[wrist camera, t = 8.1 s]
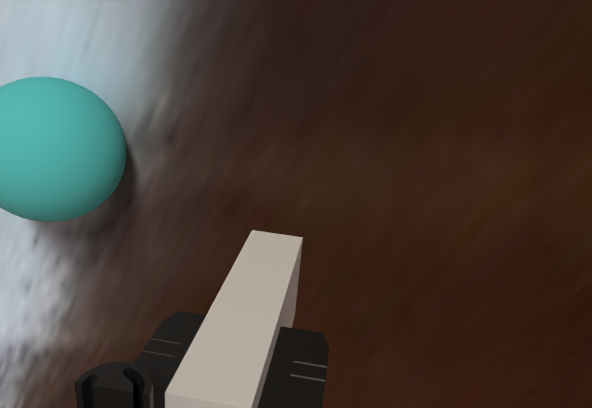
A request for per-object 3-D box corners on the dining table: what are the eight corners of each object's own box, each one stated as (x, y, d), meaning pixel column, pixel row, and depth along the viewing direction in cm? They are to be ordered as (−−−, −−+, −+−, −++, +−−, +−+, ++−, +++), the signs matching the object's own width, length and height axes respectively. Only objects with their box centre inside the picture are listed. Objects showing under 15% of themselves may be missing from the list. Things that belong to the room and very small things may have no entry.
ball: (-36, 63, 21) (113, 78, 24) (-31, 199, 22) (108, 197, 25) (-43, 75, 16) (145, 93, 19) (-35, 248, 17) (137, 238, 21)
